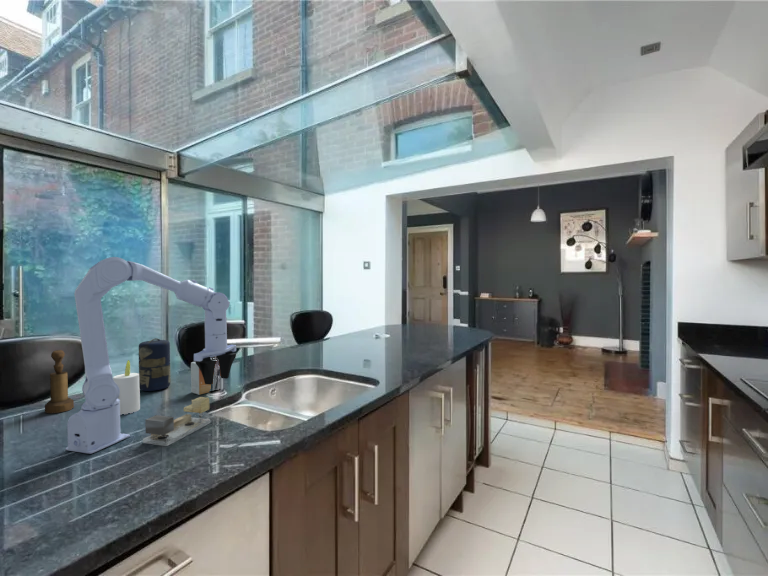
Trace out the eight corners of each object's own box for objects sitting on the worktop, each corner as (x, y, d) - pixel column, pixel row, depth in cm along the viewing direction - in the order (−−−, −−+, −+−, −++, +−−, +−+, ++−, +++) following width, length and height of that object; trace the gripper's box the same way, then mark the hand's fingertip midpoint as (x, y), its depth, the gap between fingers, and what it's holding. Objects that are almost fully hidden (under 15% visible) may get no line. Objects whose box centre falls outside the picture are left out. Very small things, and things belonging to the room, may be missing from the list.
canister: (132, 391, 127) (131, 340, 127) (156, 384, 137) (155, 336, 136) (153, 393, 125) (152, 341, 124) (177, 386, 134) (175, 336, 133)
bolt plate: (167, 446, 85) (166, 441, 85) (143, 442, 87) (142, 438, 87) (210, 423, 98) (210, 419, 98) (188, 420, 100) (188, 416, 100)
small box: (198, 395, 122) (198, 364, 122) (190, 392, 126) (190, 362, 126) (221, 389, 129) (221, 359, 129) (213, 386, 132) (212, 357, 132)
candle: (107, 414, 106) (106, 362, 106) (128, 406, 112) (127, 357, 112) (125, 415, 104) (123, 363, 104) (145, 408, 111) (143, 358, 110)
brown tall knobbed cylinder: (79, 406, 113) (78, 348, 112) (59, 414, 106) (57, 352, 106) (60, 405, 114) (58, 348, 113) (38, 413, 107) (36, 352, 107)
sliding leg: (201, 419, 97) (201, 401, 97) (183, 417, 99) (183, 399, 99) (209, 415, 100) (209, 397, 100) (192, 413, 102) (191, 396, 102)
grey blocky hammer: (163, 440, 86) (163, 421, 86) (145, 438, 87) (144, 419, 87) (202, 420, 98) (202, 403, 98) (186, 418, 99) (186, 402, 99)
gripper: (222, 330, 113) (223, 373, 113) (184, 337, 99) (185, 387, 99) (241, 330, 111) (242, 375, 111) (205, 338, 97) (206, 389, 97)
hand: (217, 381), depth 105 cm, fingers open, 6 cm apart
